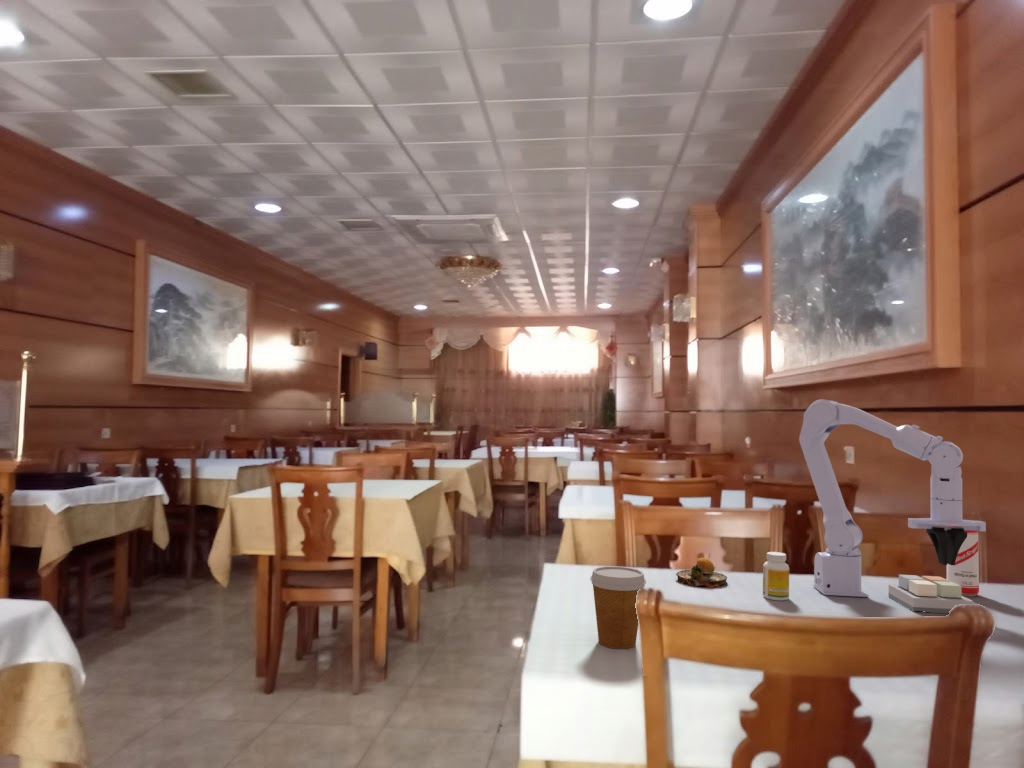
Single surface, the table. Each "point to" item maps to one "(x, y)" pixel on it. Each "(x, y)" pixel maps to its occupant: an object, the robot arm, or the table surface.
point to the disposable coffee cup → (616, 604)
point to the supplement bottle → (776, 577)
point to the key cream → (923, 588)
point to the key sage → (948, 589)
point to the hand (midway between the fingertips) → (946, 564)
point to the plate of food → (702, 575)
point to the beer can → (966, 565)
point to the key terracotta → (934, 578)
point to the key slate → (907, 580)
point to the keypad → (925, 601)
